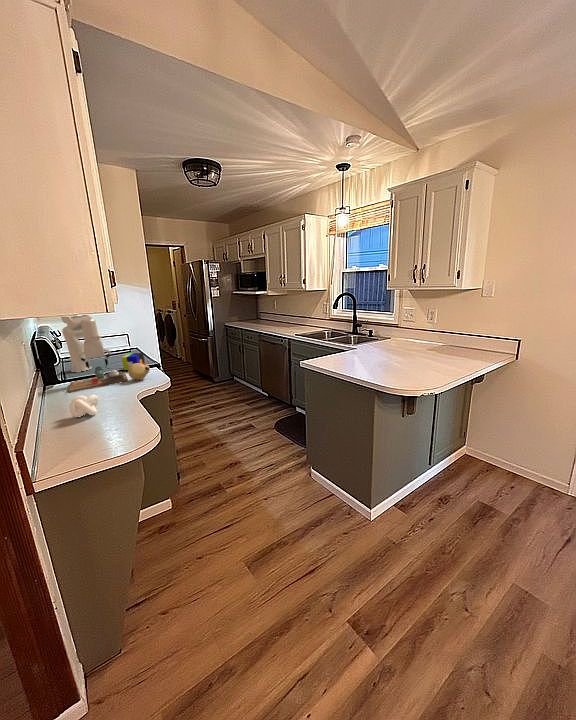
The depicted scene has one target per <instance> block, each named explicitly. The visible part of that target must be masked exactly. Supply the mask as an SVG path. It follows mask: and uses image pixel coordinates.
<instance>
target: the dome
mask: <svg viewBox="0 0 576 720" xmlns="http://www.w3.org/2000/svg"><path fill="white" fill-rule="evenodd" d="M119 372H120V371H119V370H116V369H111V370H110V371H109V372H108V374H109V377H111V376H117V375H119Z"/></svg>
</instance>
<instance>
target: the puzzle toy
mask: <svg viewBox="0 0 576 720" xmlns="http://www.w3.org/2000/svg"><path fill="white" fill-rule="evenodd" d="M144 355H145V354H144V353H143V352H135V353H134V352H131V353H126V354H125V355H123V356H122V357H121V361H122V365H123V371H124V370H129V367H130V366H131V365H132V364H134V363H140V364H143V365H146V361H145V356H144Z"/></svg>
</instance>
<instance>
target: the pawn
mask: <svg viewBox="0 0 576 720" xmlns="http://www.w3.org/2000/svg"><path fill="white" fill-rule="evenodd" d="M94 374H95V377H97V379H103V378H105V377H104V376H105V373H104V370H103V369H102V367H101V366H96V367H95V369H94Z"/></svg>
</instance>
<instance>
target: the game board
mask: <svg viewBox="0 0 576 720" xmlns="http://www.w3.org/2000/svg"><path fill="white" fill-rule="evenodd" d="M118 372H119V375H117V376H111V377H109V373H106V374H105V373H104V377H105V378H103V379H97V377H96V376H95V377H90V378H85V379H80V380H74V381H70V385H69V390H68V392H69V394H70V393H71V394H72V393H75V392H81V391H84V390H85V389H86V390H91V389H97V388H101V387H107V386H111V385H115V383H117V384H120V382H122V383H125V382H126V381H127V382H129V379H128V376H127V374H126V371H122V370H121V371H118ZM110 384H111V385H110ZM80 390H81V391H80Z"/></svg>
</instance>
